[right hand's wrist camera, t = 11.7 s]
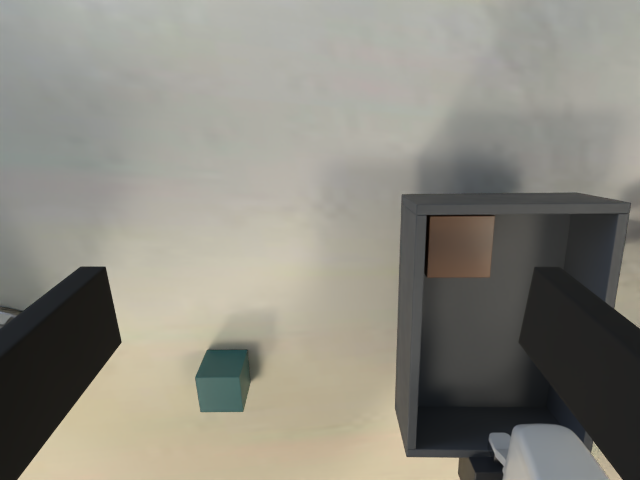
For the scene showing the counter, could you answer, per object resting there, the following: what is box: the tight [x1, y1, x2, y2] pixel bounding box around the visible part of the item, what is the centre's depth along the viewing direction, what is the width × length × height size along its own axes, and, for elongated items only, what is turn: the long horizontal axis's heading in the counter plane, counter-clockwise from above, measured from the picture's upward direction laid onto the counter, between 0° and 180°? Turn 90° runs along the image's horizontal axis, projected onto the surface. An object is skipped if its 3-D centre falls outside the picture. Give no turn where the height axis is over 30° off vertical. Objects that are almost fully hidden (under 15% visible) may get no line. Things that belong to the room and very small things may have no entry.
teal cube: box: [195, 350, 250, 412], centre depth 49 cm, size 5×5×5 cm
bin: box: [395, 193, 631, 480], centre depth 35 cm, size 26×16×8 cm, turn 1°
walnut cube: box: [424, 215, 495, 278], centre depth 34 cm, size 5×5×5 cm
